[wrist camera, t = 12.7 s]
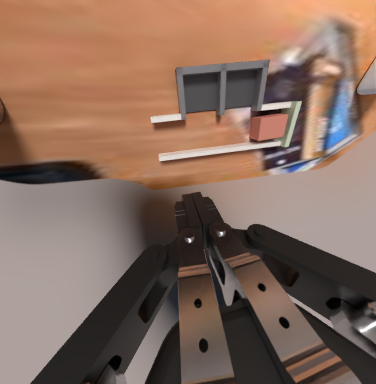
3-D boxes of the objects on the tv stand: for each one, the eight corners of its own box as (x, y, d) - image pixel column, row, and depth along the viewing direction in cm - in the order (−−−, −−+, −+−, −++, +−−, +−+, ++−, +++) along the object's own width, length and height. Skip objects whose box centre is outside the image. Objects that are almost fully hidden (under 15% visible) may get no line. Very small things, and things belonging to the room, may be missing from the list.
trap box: (159, 157, 34) (159, 163, 31) (143, 73, 26) (139, 68, 22) (277, 142, 36) (288, 146, 33) (297, 59, 28) (315, 53, 24)
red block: (249, 137, 35) (258, 140, 32) (251, 117, 32) (261, 118, 29) (272, 133, 35) (283, 136, 32) (276, 113, 33) (288, 114, 29)
